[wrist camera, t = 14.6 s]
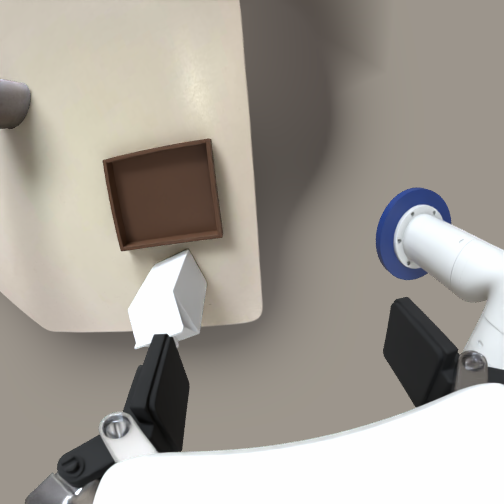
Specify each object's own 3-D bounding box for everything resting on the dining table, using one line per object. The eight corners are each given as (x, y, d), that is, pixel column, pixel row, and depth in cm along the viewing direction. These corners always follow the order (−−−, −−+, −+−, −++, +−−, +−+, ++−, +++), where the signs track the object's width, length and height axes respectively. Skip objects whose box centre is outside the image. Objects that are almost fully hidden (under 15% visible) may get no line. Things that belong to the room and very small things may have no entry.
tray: (211, 139, 41) (209, 138, 38) (223, 232, 47) (222, 237, 44) (109, 159, 41) (102, 160, 38) (126, 245, 46) (120, 251, 43)
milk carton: (153, 264, 48) (118, 326, 30) (188, 248, 47) (166, 307, 29) (173, 297, 50) (150, 368, 32) (207, 282, 50) (197, 353, 32)
